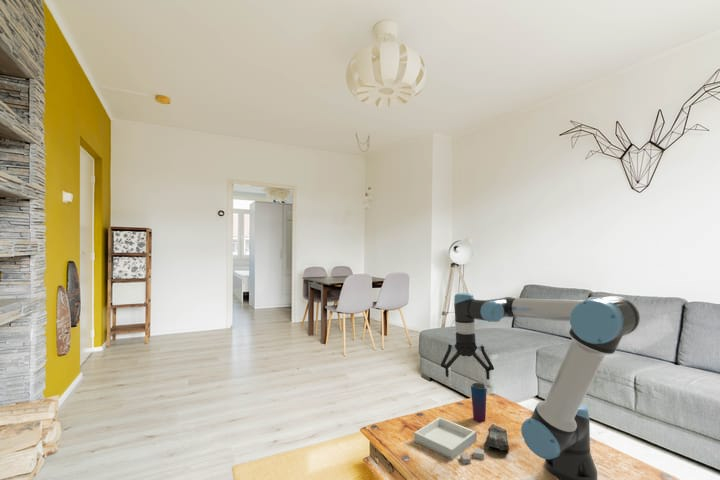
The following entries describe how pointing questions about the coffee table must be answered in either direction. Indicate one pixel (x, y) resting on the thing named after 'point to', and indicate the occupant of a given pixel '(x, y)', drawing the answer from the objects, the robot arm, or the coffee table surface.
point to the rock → (497, 438)
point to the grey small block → (478, 453)
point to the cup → (478, 401)
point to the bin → (445, 437)
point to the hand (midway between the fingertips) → (467, 386)
